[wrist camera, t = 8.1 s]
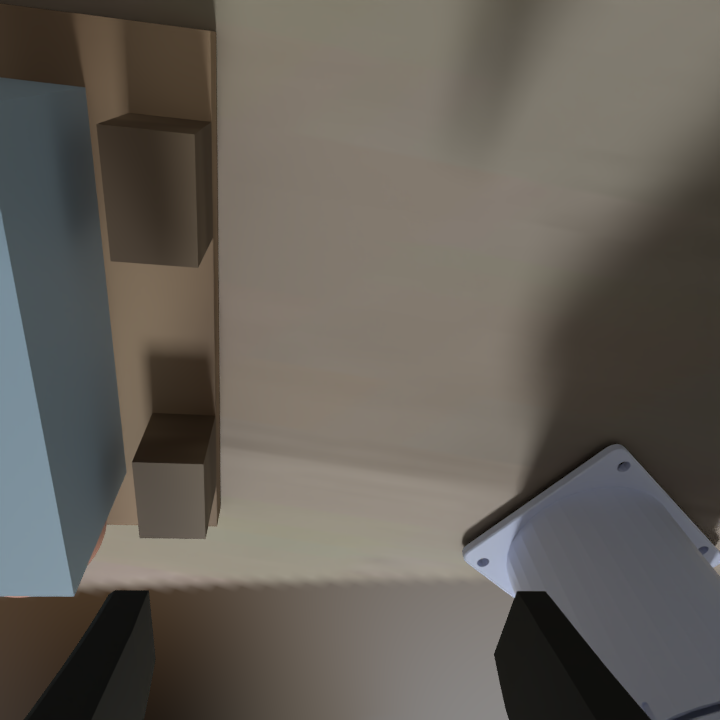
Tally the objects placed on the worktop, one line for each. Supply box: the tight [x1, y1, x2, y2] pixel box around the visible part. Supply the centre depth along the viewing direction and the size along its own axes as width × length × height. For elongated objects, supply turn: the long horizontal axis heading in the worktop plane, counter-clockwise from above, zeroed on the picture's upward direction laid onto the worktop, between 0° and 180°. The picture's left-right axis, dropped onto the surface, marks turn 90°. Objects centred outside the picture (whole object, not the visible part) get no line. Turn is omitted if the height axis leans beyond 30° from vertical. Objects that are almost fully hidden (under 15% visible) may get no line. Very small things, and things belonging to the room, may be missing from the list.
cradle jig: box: [0, 3, 220, 539], centre depth 16 cm, size 10×16×4 cm, turn 174°
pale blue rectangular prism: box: [0, 77, 127, 598], centre depth 14 cm, size 4×14×5 cm, turn 173°
